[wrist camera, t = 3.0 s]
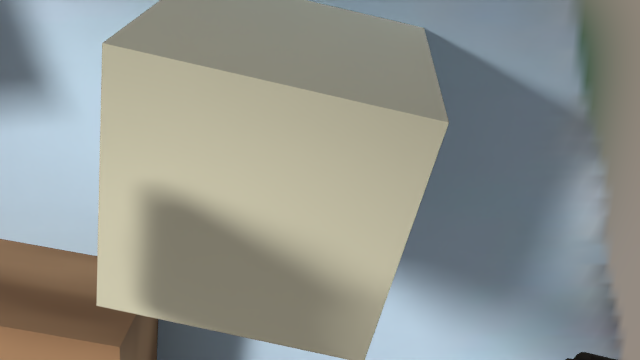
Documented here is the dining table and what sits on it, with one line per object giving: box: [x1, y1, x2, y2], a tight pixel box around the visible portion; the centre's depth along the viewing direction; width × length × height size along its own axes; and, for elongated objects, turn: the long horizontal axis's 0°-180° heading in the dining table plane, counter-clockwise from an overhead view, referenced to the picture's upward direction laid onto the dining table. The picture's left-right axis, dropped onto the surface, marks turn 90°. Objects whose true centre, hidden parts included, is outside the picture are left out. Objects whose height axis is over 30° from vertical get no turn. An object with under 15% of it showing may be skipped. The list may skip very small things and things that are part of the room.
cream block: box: [96, 0, 449, 360], centre depth 14 cm, size 6×6×6 cm
